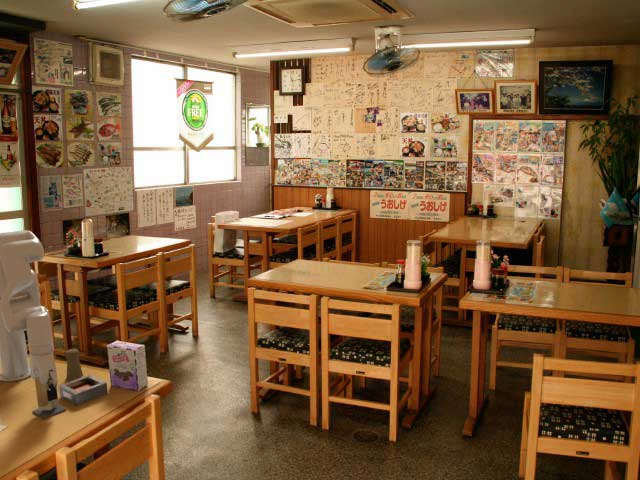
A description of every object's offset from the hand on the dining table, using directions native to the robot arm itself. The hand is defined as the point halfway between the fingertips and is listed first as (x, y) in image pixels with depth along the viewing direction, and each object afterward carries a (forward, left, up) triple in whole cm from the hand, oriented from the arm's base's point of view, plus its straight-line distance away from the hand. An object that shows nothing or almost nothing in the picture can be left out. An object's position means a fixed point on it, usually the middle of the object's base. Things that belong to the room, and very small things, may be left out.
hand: (47, 396), depth 208 cm
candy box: (+4, +29, -6) cm, 30 cm away
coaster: (0, 0, -6) cm, 6 cm away
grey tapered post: (-22, +21, -6) cm, 31 cm away
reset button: (-2, +14, -5) cm, 15 cm away
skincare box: (0, 0, -4) cm, 4 cm away
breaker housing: (-2, +14, -6) cm, 15 cm away
